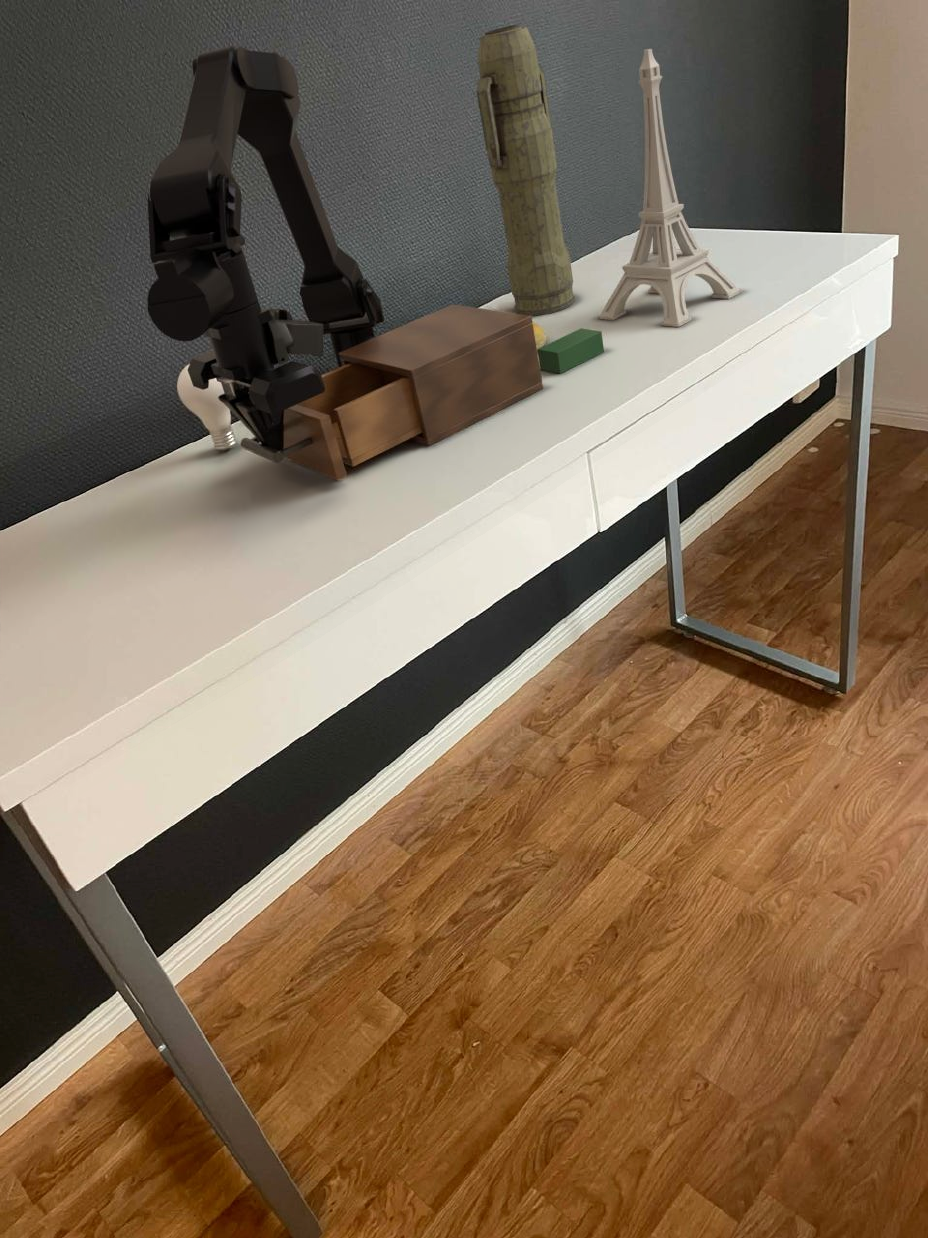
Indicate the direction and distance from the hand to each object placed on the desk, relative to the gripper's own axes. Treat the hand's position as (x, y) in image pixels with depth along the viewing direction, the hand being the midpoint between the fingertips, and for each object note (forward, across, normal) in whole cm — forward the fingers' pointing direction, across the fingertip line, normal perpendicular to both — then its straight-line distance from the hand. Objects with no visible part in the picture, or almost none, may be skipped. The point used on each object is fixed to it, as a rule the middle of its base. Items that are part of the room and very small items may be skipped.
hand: (277, 453), depth 102 cm
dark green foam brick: (+4, -4, -39) cm, 39 cm away
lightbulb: (+4, +17, -1) cm, 18 cm away
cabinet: (+4, 0, -23) cm, 23 cm away
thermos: (+4, +17, -54) cm, 57 cm away
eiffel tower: (+4, -2, -59) cm, 59 cm away
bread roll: (+4, +7, -39) cm, 40 cm away
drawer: (+3, 0, -8) cm, 9 cm away
